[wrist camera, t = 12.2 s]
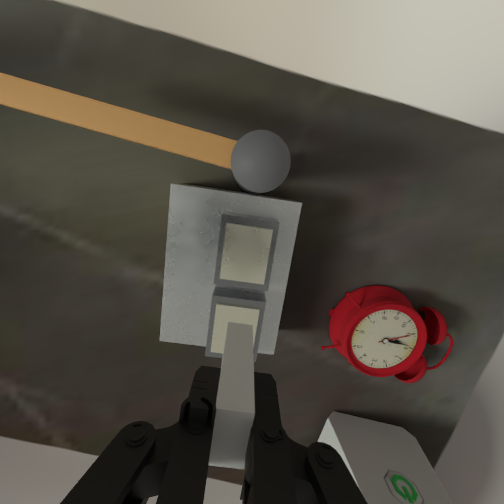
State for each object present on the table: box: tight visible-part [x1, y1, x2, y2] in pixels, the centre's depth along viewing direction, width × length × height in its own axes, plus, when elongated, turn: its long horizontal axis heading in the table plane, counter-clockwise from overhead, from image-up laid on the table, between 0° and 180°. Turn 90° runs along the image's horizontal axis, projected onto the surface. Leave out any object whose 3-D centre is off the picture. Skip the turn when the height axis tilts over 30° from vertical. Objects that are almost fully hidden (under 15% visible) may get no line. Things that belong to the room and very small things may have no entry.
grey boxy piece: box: [160, 175, 302, 362], centre depth 27 cm, size 12×21×7 cm, turn 172°
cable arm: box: [0, 73, 291, 193], centre depth 23 cm, size 22×4×11 cm, turn 75°
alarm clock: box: [321, 285, 453, 383], centre depth 32 cm, size 10×6×15 cm
